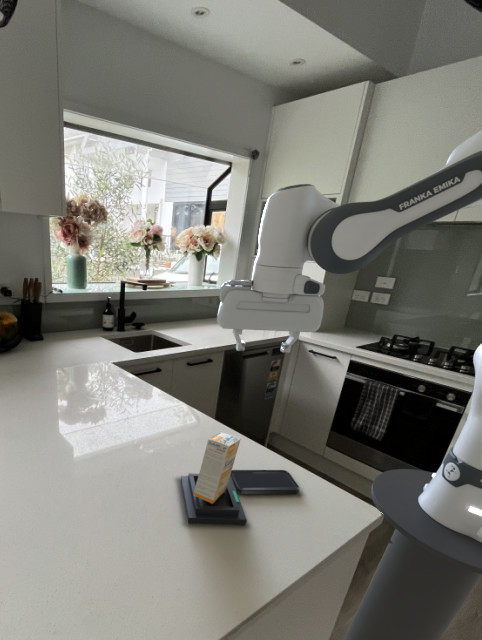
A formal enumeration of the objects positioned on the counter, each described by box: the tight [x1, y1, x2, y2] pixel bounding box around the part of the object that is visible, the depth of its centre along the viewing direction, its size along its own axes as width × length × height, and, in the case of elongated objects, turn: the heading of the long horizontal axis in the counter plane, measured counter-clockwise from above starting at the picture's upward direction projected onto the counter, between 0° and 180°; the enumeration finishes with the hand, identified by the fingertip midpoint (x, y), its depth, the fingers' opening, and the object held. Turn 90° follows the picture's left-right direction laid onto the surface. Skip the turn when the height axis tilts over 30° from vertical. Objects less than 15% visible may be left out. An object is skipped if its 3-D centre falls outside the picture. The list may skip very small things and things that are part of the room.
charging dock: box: [180, 472, 248, 526], centre depth 83 cm, size 12×14×3 cm
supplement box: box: [194, 431, 242, 504], centre depth 80 cm, size 8×5×13 cm, turn 148°
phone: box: [230, 469, 300, 495], centre depth 90 cm, size 8×1×15 cm
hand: (262, 351), depth 78 cm, fingers open, 8 cm apart
